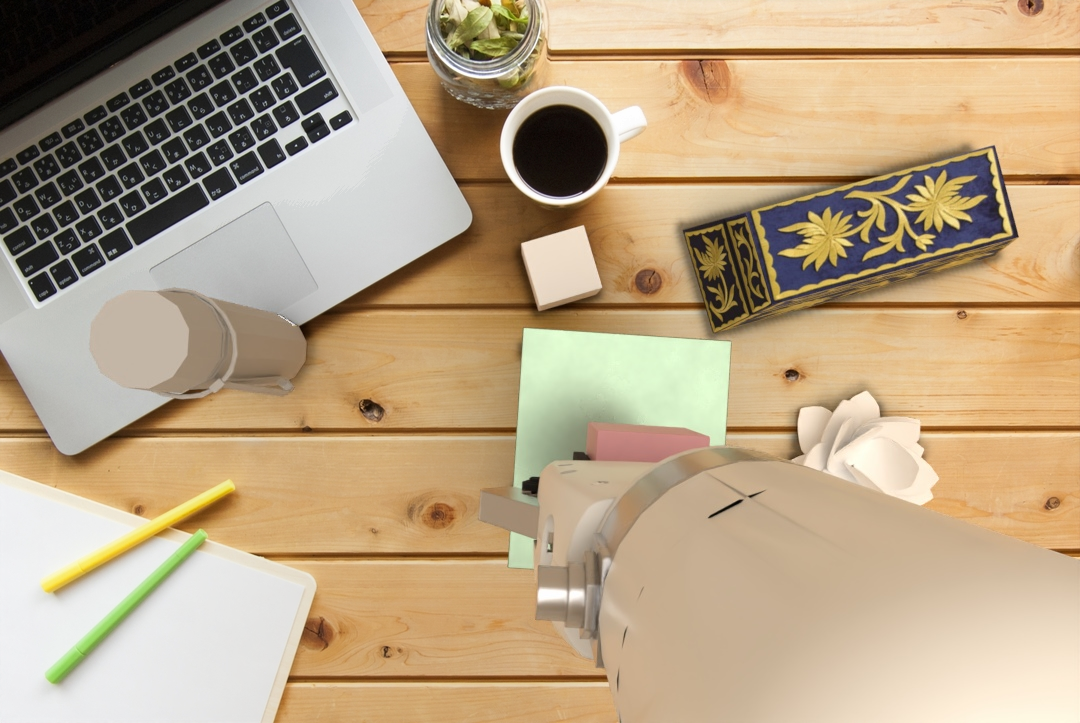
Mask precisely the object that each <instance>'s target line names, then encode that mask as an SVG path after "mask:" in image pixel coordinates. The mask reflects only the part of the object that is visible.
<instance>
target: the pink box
mask: <svg viewBox="0 0 1080 723" xmlns="http://www.w3.org/2000/svg"><path fill="white" fill-rule="evenodd" d="M708 446H710V437H709V436H706V435H704V434H701V433H698V432H695V431H692V430H690V429H687V428H681V427H664V426H647V425H631V424H614V423H598V422H588V430H587V447H586V455H588V457H589V458H590V460H591V461H628V462H653V463H658V462H660V461H662V460H664V459H665V458H667V457H669V456H672V455H675V454H677V453H680V452H683V451H686V450H690V449H694V448H701V447H708Z"/></svg>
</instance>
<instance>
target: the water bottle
mask: <svg viewBox="0 0 1080 723" xmlns="http://www.w3.org/2000/svg"><path fill="white" fill-rule="evenodd" d="M275 313H276V312H272V311H268V310H263V309H259V308H255V307H252V306H251V307H250V306H247V305H243V304H239V303H235V302H231V301H226V300H223V299H217V298H213V297H210V296H206V295H205V294H203V293H200V292H198V291H196V290H193V289H187V288H181V287H175V286H174V287H168V288H163V289H160V290H137V289H136V290H134V289H129V290H127V291H124V292H122V293H120V294H118V295H117V296H115V297H112V298H110V299H108V300H106V301H105V302H104V304H103V305H102V306H101V308H100V309H99V311H98V312H97V314H96V315H95V317H94V318H93V320H92V321H91V323H90V332H89V344H88V350H89V352H90V355H91V356H92V358H93V361H94V363H95V364H96V366H97V369H98V370H99V372H100V374H102V375H103V376H105V377H106V378H108V379H109V380H110V381H112V382H114V383H116V384H117V385H118V386H120V387H122V388H126V389H133V390H139V391H148V392H151V393H154V394H156V395H157V396H160V397H165V398H171V399H176V400H177V399H178V400H190V399H202V398H205V397H207V396H208V395H211V394H212V393H213V394H216V393H218V392H220V391H221V390H223V389H224V390H231V391H238V392H239V391H240V392H246V393H255V394H261V395H267V396H274V397H286V396H288V395H289V394H290V393H292V392H293V391H294V390H295V389H296V388H295V386H294V384H293V383H292V382H291V381H290V380H292V379H294V378H296V376H297V375H298V373H299V372H300V370H301V369H302V367H303V366H304V365H305V363H306V359H307V346H308V345H307V344H308V342H307V340H306V338H305V336H304V334H303V332H302V330H301V327H300V326H299V325H298V327H293V326H292V324H291V323H289V322H288V321H286V320H285V319H283V318H281V317H280V316H278V315H277V314H278V313H276V314H275ZM272 386H273V387H272ZM274 386H275V387H274ZM277 386H279V387H280V388H277ZM189 390H191V391H192V390H202V391H199V392H193V393H185V392H186V391H189Z"/></svg>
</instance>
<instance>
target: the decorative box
mask: <svg viewBox="0 0 1080 723" xmlns="http://www.w3.org/2000/svg"><path fill="white" fill-rule="evenodd" d="M1010 201H1011V200H1010V197H1009V194H1008V189H1007V185H1006V182H1005V178H1004V175H1003V171H1002V166H1001V164H1000V159H999V155H998V152H997V148H996V145H995V144H993V145H988V146H985V147H981V148H978V149H974V150H970V151H966V152H963V153H959V154H956V155H952V156H948V157H944V158H940V159H936V160H933V161H930V162H926V163H923V164H918V165H915V166H911V167H908V168H904V169H900V170H896V171H893V172H890V173H886V174H882V175H878V176H874V177H871V178H867V179H863V180H860V181H855V182H852V183H849V184H845V185H841V186H837V187H834V188H831V189H827V190H822V191H819V192H816V193H812V194H808V195H803V196H800V197H797V198H793V199H790V200H786V201H782V202H778V203H774V204H771V205H767V206H764V207H760V208H756V209H753V210H749V211H745V212H742V213H739V214H735V215H732V216H731V215H730V216H728V217H724V218H721V219H717V220H714V221H710V222H706V223H702V224H700V225H696V226H692V227H689V228H685V229H682V233H683V236H684V239H685V244H686V246H687V250H688V253H689V256H690V260H691V264H692V267H693V270H694V274H695V277H696V281H697V283H698V287H699V290H700V294H701V297H702V298H701V299H702V301H703V305H704V308H705V311H706V314H707V318H708V321H709V325H710V328H711V332H712V334H716V333H720V332H723V331H727V330H732V329H734V328H735V329H736V328H739V327H741V326H745V325H750V324H752V323H756V322H760V321H764V320H768V319H771V318H774V317H778V316H781V315H786V314H789V313H793V312H796V311H799V310H804V309H808V308H812V307H815V306H819V305H823V304H826V303H830V302H833V301H837V300H840V299H844V298H849V297H851V296H856V295H859V294H863V293H866V292H870V291H873V290H877V289H882V288H884V287H889V286H891V285H895V284H899V283H902V282H903V283H904V282H906V281H910V280H914V279H917V278H921V277H924V276H928V275H931V274H936V273H939V272H943V271H946V270H950V269H955V268H957V267H961V266H964V265H968V264H973V263H976V262H979V261H983V260H987V259H991V258H994V257H995V256H997V255H998V254H999V253H1000V252H1002V251H1003V250H1004V249H1006V248H1007V247H1008V246H1010V245H1011V244H1012V243H1014V242H1016V240H1017V239H1019V238H1020V236H1019V232H1018V227H1017V224H1016V220H1015V216H1014V213H1013V209H1012V206H1011V202H1010Z"/></svg>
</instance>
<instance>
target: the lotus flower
mask: <svg viewBox="0 0 1080 723" xmlns="http://www.w3.org/2000/svg"><path fill="white" fill-rule="evenodd" d="M880 412H881V411H880V406H879V404H878V403H877V400H876V399H875V398H874V397H873V396H872V394H871V393H870V392H869V391H868V390H863V391H861V392H860V393H857V394H855V395H853V396H852V397H851V398H849V399H842V400H841V401H840V402H839V404H838V405H837V406H836V408H834V411H833V412H832V411H831V410H829V409H828V408H826V407H824V406H817V405H816V406H815V405H811V406H805V407H801V408H800V409H799V413H798V418H797V438H798V443H799V447H800V450H801V452H802V453H803V454H801V455H799V456H796V457H794V458H792V459H789V460H790V461H793V462H796V463H798V464H801V465H804V466H807V467H810V468H813V469H816V470H819V471H822V472H824V473H827V474H830V475H833V476H836V477H839V478H842V479H845V480H847V481H850V482H853V483H856V484H859V485H862V486H865V487H868V488H871V489H873V490H876V491H879V492H882V493H885V494H888V495H891V496H894V497H897V498H900V499H903V500H906V501H909V502H911V503H914V504H917V505H920V506H924V504H926V503H928V502H930V501H931V500H933V499H934V495H933V492H932V490H931V489H932V488H933V487H934V486H935V485H936V484H937V483H938V482H939V481H940V477H939V475H938V474H937V473H936V471H935V470H934V468H933V467H932V465H931V464H930V463H928V462H927V461H926V460H925V459H924V458H923V457H922V456H923V454H924V451H925V448H924V447H923V446H921V445H920V444H919V443H918V441H920V436H921V422H922V421H921V420H920V419H918V418H915V417H910V416H906V415H905V416H904V415H903V416H902V415H897V416H896V415H893V416H881V413H880Z"/></svg>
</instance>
